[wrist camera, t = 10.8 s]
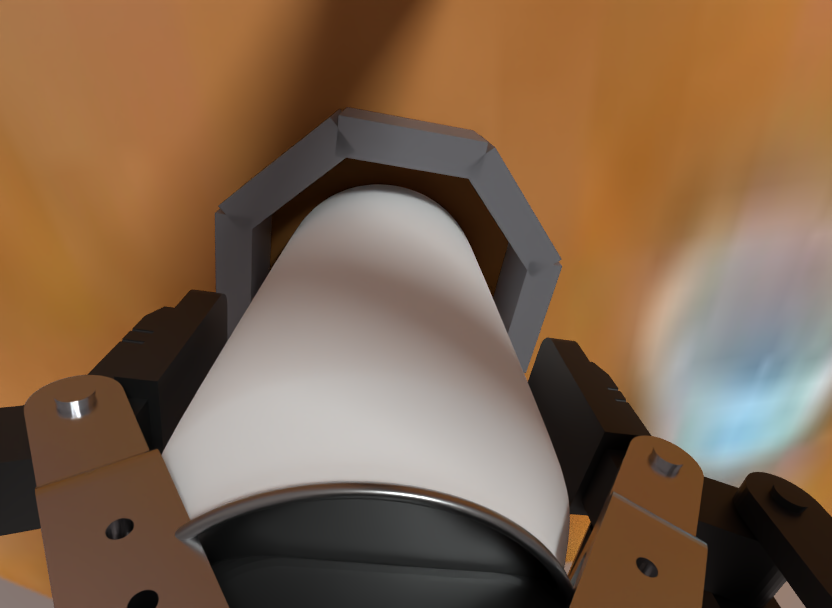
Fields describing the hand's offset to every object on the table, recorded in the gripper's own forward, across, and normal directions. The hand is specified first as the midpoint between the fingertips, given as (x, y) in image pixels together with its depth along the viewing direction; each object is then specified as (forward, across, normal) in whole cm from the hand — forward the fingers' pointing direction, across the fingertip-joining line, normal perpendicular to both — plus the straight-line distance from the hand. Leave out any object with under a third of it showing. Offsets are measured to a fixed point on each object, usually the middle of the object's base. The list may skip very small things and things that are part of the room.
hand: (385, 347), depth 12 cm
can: (+5, 0, 0) cm, 5 cm away
